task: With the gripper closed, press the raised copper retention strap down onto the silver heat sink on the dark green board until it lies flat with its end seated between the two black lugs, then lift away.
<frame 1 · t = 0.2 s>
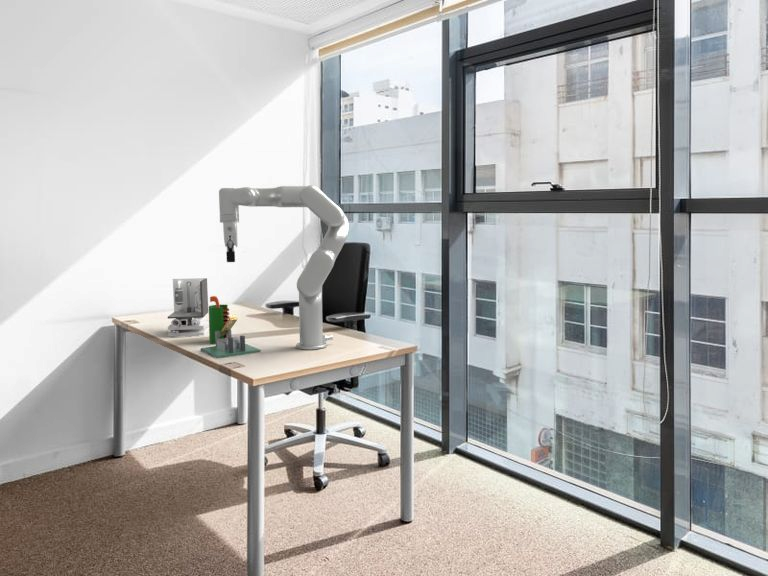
hand: (230, 261, 247), 36 cm above the table, tool pointing down, fingers open, 9 cm apart
heat sink: (228, 340, 247), point 4 cm above the table
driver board: (230, 351, 246), on the table
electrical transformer: (189, 333, 285), on the table
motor: (220, 342, 265), on the table
strap: (228, 325, 246), point 10 cm above the table, hinge at 35.0°
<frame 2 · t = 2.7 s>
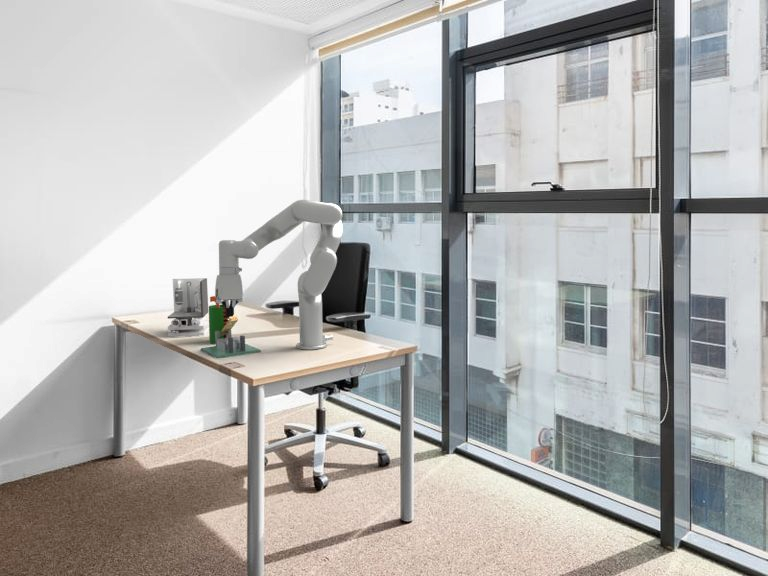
hand: (229, 317, 242), 14 cm above the table, tool pointing down, fingers closed
strap: (228, 325, 246), point 10 cm above the table, hinge at 33.2°, touching gripper
everything else where it was.
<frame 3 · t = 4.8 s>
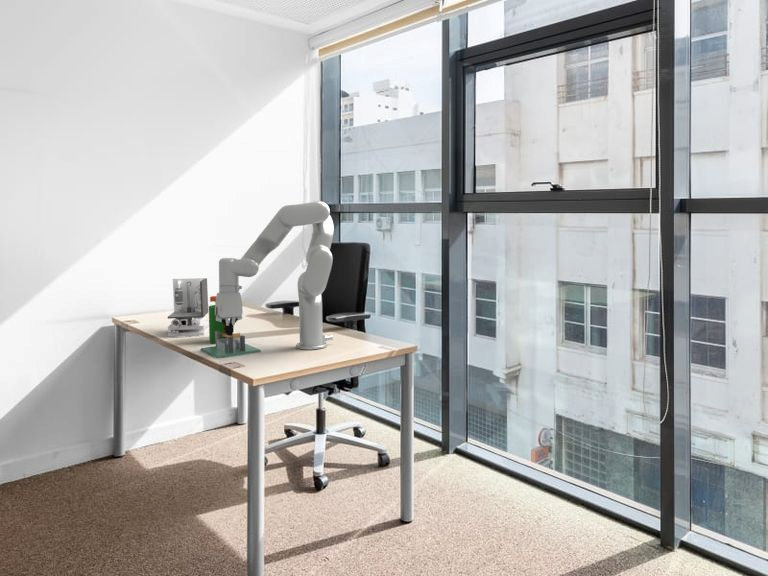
hand: (229, 334, 243), 7 cm above the table, tool pointing down, fingers closed
strap: (229, 334, 245), point 7 cm above the table, hinge at 3.7°, touching gripper
everything else where it was.
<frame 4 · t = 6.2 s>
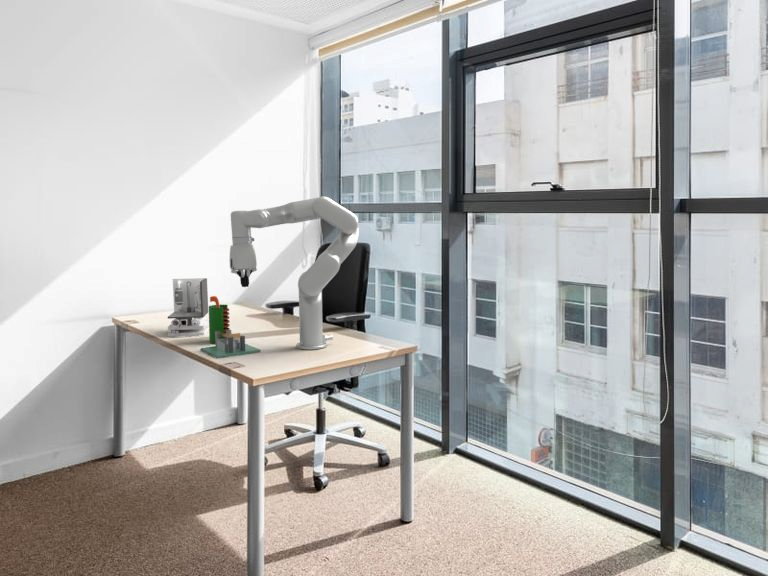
hand: (245, 286, 247), 26 cm above the table, tool pointing down, fingers closed
strap: (229, 334, 245), point 7 cm above the table, hinge at 3.6°
everything else where it was.
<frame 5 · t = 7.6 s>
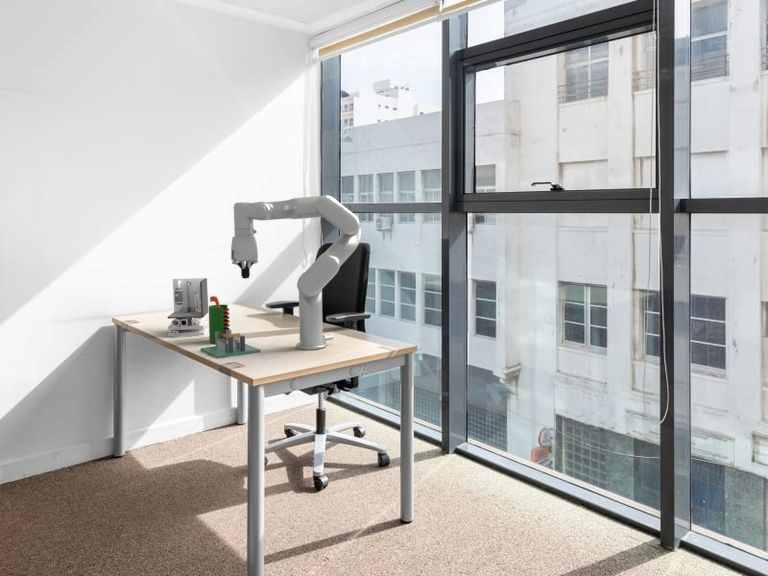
hand: (245, 278, 248), 29 cm above the table, tool pointing down, fingers closed
nothing on the table moved.
at the end: strap at +4° (first picture: +35°) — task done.
